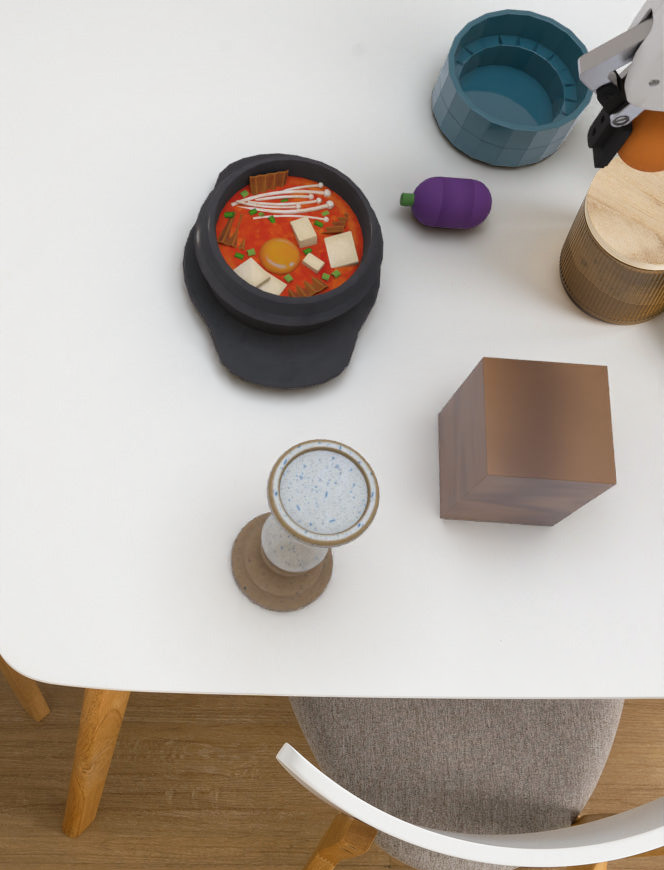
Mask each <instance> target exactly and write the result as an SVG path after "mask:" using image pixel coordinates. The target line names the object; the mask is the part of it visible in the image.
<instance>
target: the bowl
mask: <svg viewBox="0 0 664 870" xmlns="http://www.w3.org/2000/svg"><path fill="white" fill-rule="evenodd" d="M588 52H589V51H588V48H587V46H586V44H585V43H584V42H582V40H581V39H580V38H579V37H578V36H577V35H576V34H575V33H574V32H573V31H572V29H570V28H568V27H567V26H565V25H564V24H562V23H560V22H559V21H558V20H556V19H554V18H552V17H550V16H548V15H547V16H546V15H543V14H542V13H541V14H540V13H538V12H535V11H532V10H524V9H512V8H511V9H510V8H506V9H499V10H495V11H490V12H485V13H484V14H482V15H480V16H478V17H476V18H474V19H472V20H470V21H469V22H467V23H466V24H465V25H464V26H463V27H462V28H461V29H460V31H459V32H457V34H456V35H455V36H454V38H453V40H452V43H451V45H450V47H449V50H448V52H447V55H446V57H445V58H444V59H445V60H444V62H443V63H442V67H441V68H440V71H439V74H438V76H437V79H436V81H435V84H434V85H433V86H434V87H433V89H432V91H431V92H432V93H431V94H432V96H431V97H432V99H431V101H432V113H433V115H434V118H435V121H436V122H437V126H438V128H439V130H440V131H441V132H442V133H443V135H444V136H445V137H446V139H448V141H449V142H450V143H451V144H452V146H453V147H454V148H456V149H458V150H459V151H461V152H462V153H463V154H465V155H466V156H468V157H470V158H472V159H474V160H477V161H480V162H483V163H486V164H488V165H492V166H496V167H498V166H499V167H511V168H516V167H517V168H518V167H523V166H528V165H532V164H537V163H539V162H540V161H542V160H544V159H546V158H548V157H550V156H551V155H553V154H554V153H556V152H557V151H558V149H559V148H560V147H561V146H562V145H563V143H564V142H565V141H566V140H567V138H568V137H569V136H570V134H571V132H572V131H573V129H574V128H575V126H576V125H577V123H578V121H579V120H580V119H581V117H582V116H583V114H584V113H585V111H586V109H587V108H588V106H589V105H590V103H591V101H592V98H593V94H594V92H593V91H591V90H590V89H589V88H588V87H587V86H586V85H585V84H584V83H583V82H582V81H581V80H580V79H579V72H578V59H579V58H580V57H581V56H582V55H584V54H586V53H588Z"/></svg>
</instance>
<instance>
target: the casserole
mask: <svg viewBox="0 0 664 870" xmlns="http://www.w3.org/2000/svg"><path fill="white" fill-rule="evenodd" d="M187 236H188V237H187V238H186V242H185V245H184V248H183V249H184V250H183V257H182V270H183V280H184V284H185V287H186V291H187V293H188V296H189V299H190V300H191V302H192V304H193V305H194V307H195V308H196V310H197V313H198V314H199V316H200V317H201V319H202V320H203V322H204V324H205V325H206V327H207V329H208V330H209V333H210V336H211V339H212V342H213V345H214V348H215V351H216V353H217V356H218V357H219V358H218V359H219V360H220V363H221V364H222V365H223V366H224V367H225V369H227V370H228V371H229V372H230V373H231V374H232V375H234V376H236V377H237V378H239V379H241V380H243V381H245V382H248V383H251V384H255V385H258V386H262V387H265V388H273V389H282V390H290V389H305V388H310V387H314V386H318V385H322V384H325V383H327V382H329V381H331V380H333V379H336V378H337V377H339V376H340V375H341V374H342V373H343V372H344V371H345V369H347V367H348V366H349V364H350V362H351V359H352V356H353V353H354V350H355V347H356V343H357V339H358V337H359V333H360V331H361V329H362V327H363V326H364V324H365V323H366V320H367V318H368V317H369V315H370V313H371V311H372V309H373V307H374V305H375V304H376V302H377V299H378V294H379V290H380V287H381V273H382V272H381V271H382V270H381V269H382V268H381V267H382V263H383V260H384V238H383V231H382V226H381V224H380V222H379V220H378V217H377V215H376V212H375V210H374V208H373V207H372V205H371V203H370V201H369V200H368V198H367V197H366V195H365V194H364V192H363V190H362V189H361V188H360V187H359V186H358V185H357V184H356V182H355V181H353V180H352V179H351V177H349V176H347V175H346V174H345V173H343V172H342V171H340V170H339V169H338V168H336V167H334V166H332V165H329V164H328V163H326V162H323V161H321V160H317V159H314V158H311V157H306V156H301V155H297V154H289V153H282V152H281V153H280V152H279V153H278V152H277V153H276V152H275V153H259V154H255V155H251V156H247V157H242V158H240V159H238V160H235V161H233V162H230V163H229V164H228V165H227V166H225V168H223V169H222V170H221V171H220V172H219V174H218V175H217V179H216V181H215V184H214V187H213V188H212V190H211V191H210V192H209V194H208V195H207V197H206V198H205V200H204V202H203V203H202V204H201V206H200V208H199V212H198V215H197V218H196V221H195V222H194V224H193V226H192V227H191V229H190V230H189V233H188V235H187Z"/></svg>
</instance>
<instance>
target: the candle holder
mask: <svg viewBox="0 0 664 870" xmlns="http://www.w3.org/2000/svg"><path fill="white" fill-rule="evenodd" d="M380 498H381V497H380V486H379V482H378V479H377V476H376V474H375V471H374V469H373V468H372V466H371V464H370V463H369V462H368V461H367V460H366V458H365V457H364V456H363V455H361V454H360V453H359V452H358V451H357V450H356V449H355V448H352V447H351V446H349V445H348V444H345V443H343V442H340V441H336V440H331V439H326V438H325V439H323V438H316V439H309V440H305V441H301V442H299V443H297V444H295V445H292V446H291V447H290V448H288V449H287V450H285V451H284V452H283V453H282V454H281V455H280V456H279V457H278V458H277V460H276V461H275V462H274V464H273V465H272V468H271V470H270V471H269V475H268V478H267V483H266V500H267V505H268V509H269V511H268V512H265V513H263V514H260V515H258V516H256V517H254V518H253V519H251V520H249V521H248V522H247V523H246V524H245V525H244V526H243V527H242V528H241V530H240V531H239V532H238V534H237V536H236V537H235V540H234V542H233V545H232V549H231V553H230V565H231V573H232V575H233V578H234V581H235V582H236V584H237V586H238V588H239V590H240V591H241V592H242V593H243V595H245V597H247V598H248V599H249V600H250V601H252V602H253V603H254V604H256V605H258V606H260V607H262V608H264V609H266V610H269V611H276V612H293V611H297V610H300V609H302V608H305V607H307V606H309V605H311V604H312V603H313V602H315V601H316V600H317V599H318V598H320V597H321V595H322V594H323V593H324V592H325V590H326V589H327V587H328V585H329V582H330V581H331V577H332V574H333V569H334V557H333V551H332V549H333V548H339V547H341V546H345V545H348V544H350V543H352V542H354V541H356V540H357V539H358V538H360V537H361V536H362V535H363V534H364V533H366V531H367V530H368V529H369V528H370V527H371V525H372V523H374V520H375V518H376V516H377V513H378V509H379V506H380Z"/></svg>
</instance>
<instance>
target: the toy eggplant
mask: <svg viewBox="0 0 664 870" xmlns="http://www.w3.org/2000/svg"><path fill="white" fill-rule="evenodd" d="M399 206H400V207H410V209H411V212H412V214H413V216H414V218H415V219H416V220H417V222H419V223H420V224H422V225H424V226H426V227H430V228H431V227H432V228H444V229H458V230H469V229H473V228H476V227H478V226H479V225H481V224H482V223H483V222H484V221H486V219H487V218H488V217H489V215H490V213H491V210H492V206H493V197H492V193H491V191H490V190H489V188H488V187H487V185H486V184H485V183H483V182H481V180H477V179H473V178H464V177H450V176H449V177H448V176H431V177H428V178H426V179H424V180H422V181H421V182H420V183H419V184H418V185H417V186H416V187H415V189H414V191H413V192H412V193H410V192H402V193H401V194H400V197H399Z"/></svg>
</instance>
